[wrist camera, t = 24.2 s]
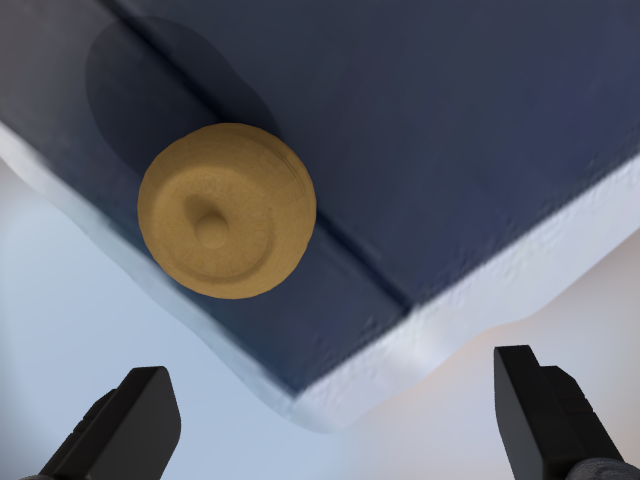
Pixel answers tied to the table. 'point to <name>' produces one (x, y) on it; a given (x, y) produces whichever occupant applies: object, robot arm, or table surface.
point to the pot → (227, 210)
